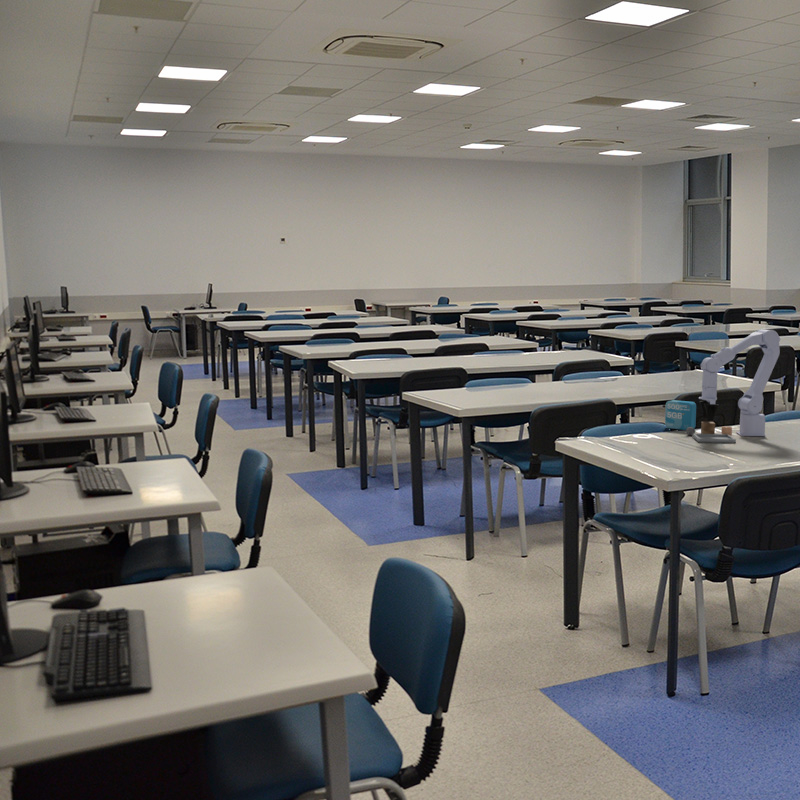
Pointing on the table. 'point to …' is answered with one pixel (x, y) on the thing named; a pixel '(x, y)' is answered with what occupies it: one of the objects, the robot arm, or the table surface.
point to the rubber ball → (690, 431)
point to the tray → (714, 438)
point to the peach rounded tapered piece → (726, 430)
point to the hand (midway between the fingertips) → (708, 419)
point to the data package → (680, 414)
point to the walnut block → (707, 428)
